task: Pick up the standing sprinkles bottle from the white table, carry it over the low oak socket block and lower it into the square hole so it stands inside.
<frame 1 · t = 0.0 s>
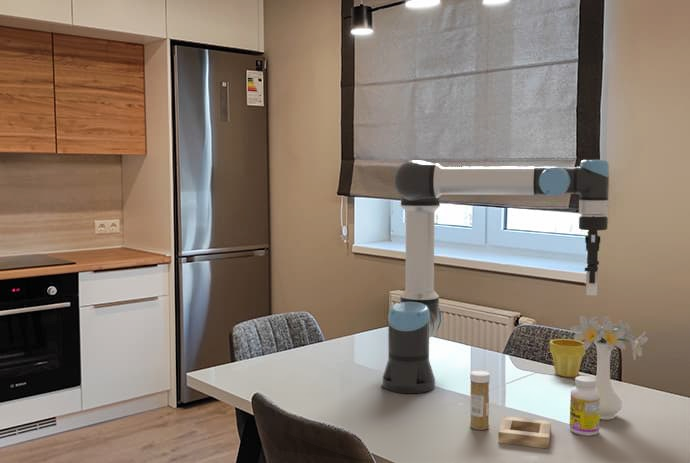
hand: (591, 291, 199), 28 cm above the table, tool pointing down, fingers open, 13 cm apart
socket block: (525, 436, 165), on the table
sprinkles bottle: (479, 428, 171), on the table
flower vase: (605, 416, 179), on the table
plant pot: (566, 374, 216), on the table
supplement bottle: (584, 432, 168), on the table
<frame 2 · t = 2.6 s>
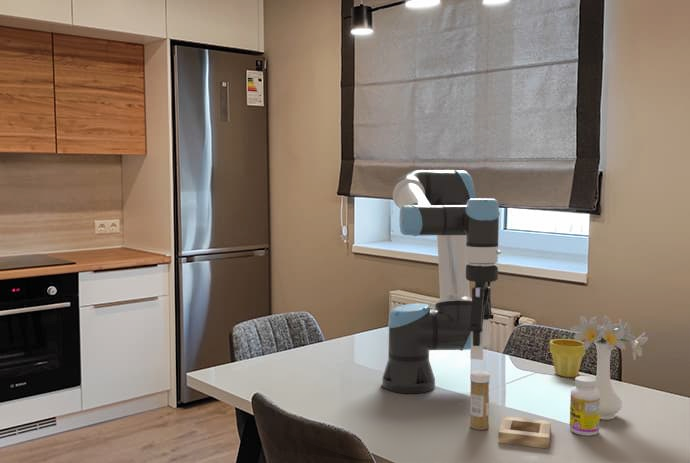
hand: (480, 352, 169), 18 cm above the table, tool pointing down, fingers open, 13 cm apart
nothing on the table moved.
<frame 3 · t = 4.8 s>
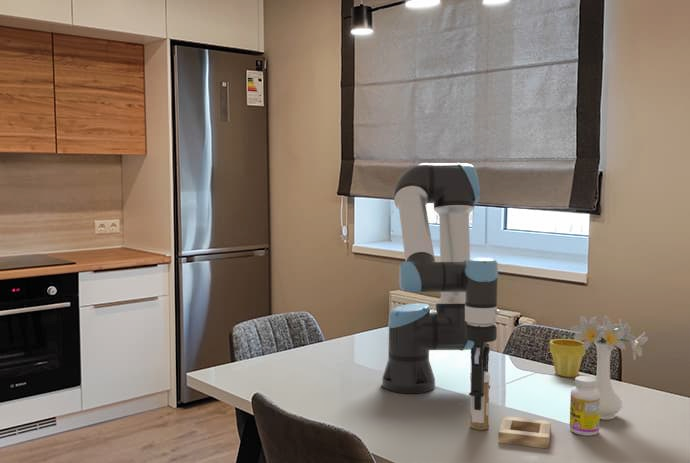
hand: (479, 418, 171), 2 cm above the table, tool pointing down, fingers closed on sprinkles bottle, 4 cm apart
sprinkles bottle: (479, 428, 171), on the table, touching gripper
everything else where it was.
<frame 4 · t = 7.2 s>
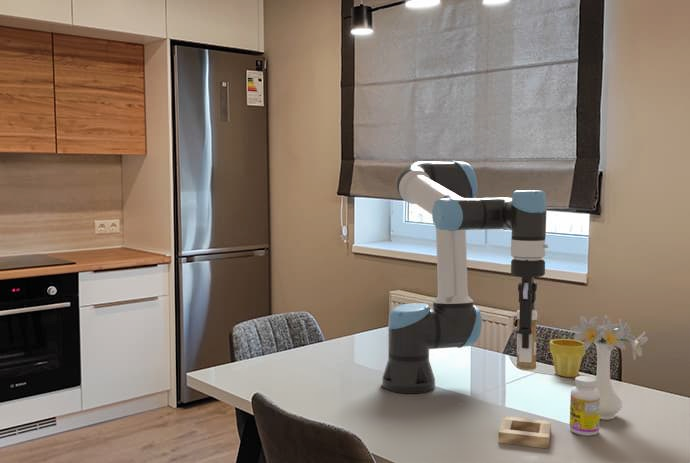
hand: (526, 358, 163), 19 cm above the table, tool pointing down, fingers closed on sprinkles bottle, 4 cm apart
sprinkles bottle: (526, 368, 163), point 16 cm above the table, touching gripper
everything else where it was.
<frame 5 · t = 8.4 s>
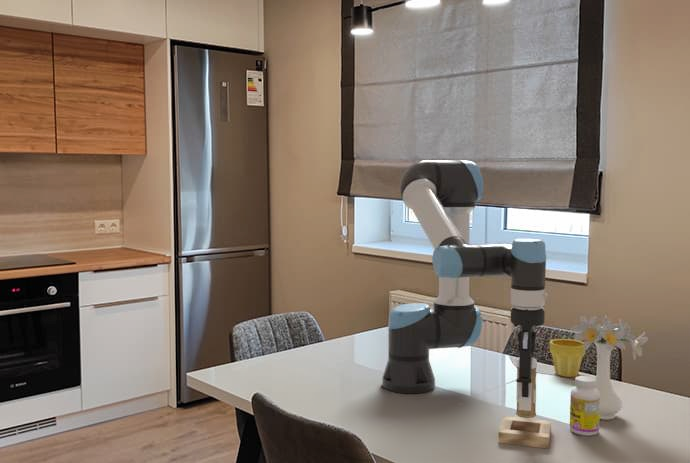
hand: (525, 406, 164), 7 cm above the table, tool pointing down, fingers closed on sprinkles bottle, 4 cm apart
sprinkles bottle: (525, 416, 164), point 5 cm above the table, touching gripper
everything else where it was.
when the fingers open (4 cm above the table, at t = 9.5 s): sprinkles bottle drops 1 cm, resting in socket block.
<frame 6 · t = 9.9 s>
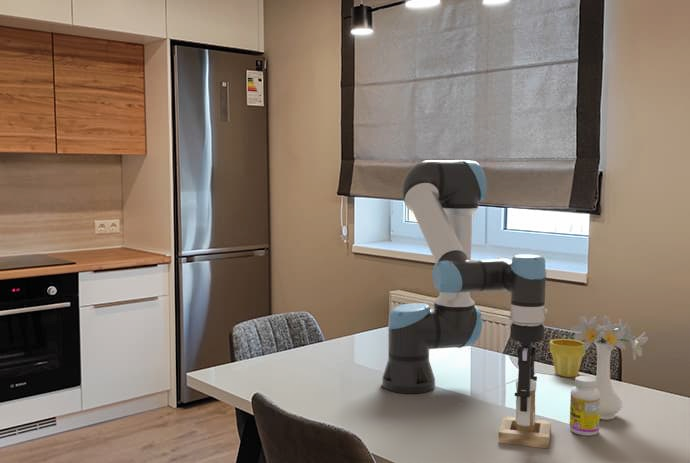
hand: (525, 416, 164), 5 cm above the table, tool pointing down, fingers open, 11 cm apart
sprinkles bottle: (525, 437, 165), resting in socket block
everything else where it was.
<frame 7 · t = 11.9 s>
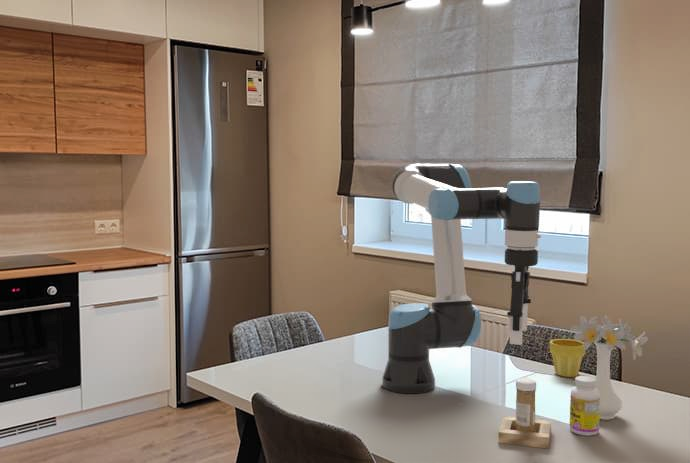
hand: (518, 336, 168), 22 cm above the table, tool pointing down, fingers open, 13 cm apart
nothing on the table moved.
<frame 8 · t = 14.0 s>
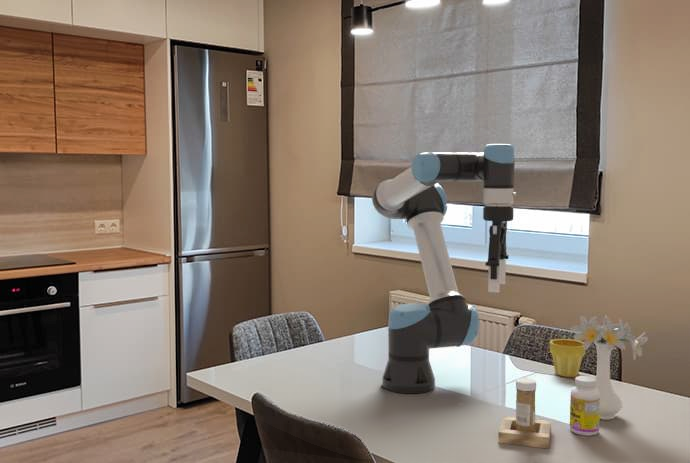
hand: (497, 288, 182), 32 cm above the table, tool pointing down, fingers open, 13 cm apart
nothing on the table moved.
at the end: sprinkles bottle 0.0 cm from the target spot, resting in socket block; sprinkles bottle tilted 0°; the gripper is holding nothing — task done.
